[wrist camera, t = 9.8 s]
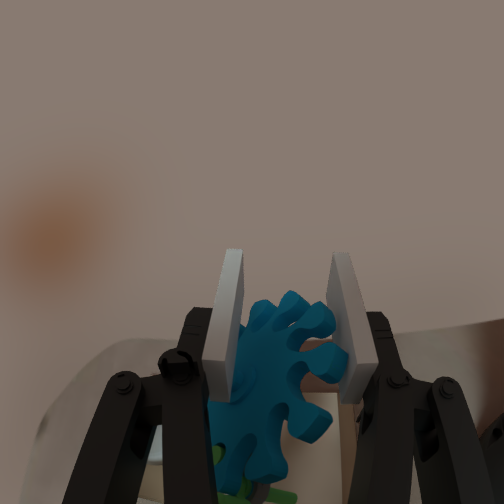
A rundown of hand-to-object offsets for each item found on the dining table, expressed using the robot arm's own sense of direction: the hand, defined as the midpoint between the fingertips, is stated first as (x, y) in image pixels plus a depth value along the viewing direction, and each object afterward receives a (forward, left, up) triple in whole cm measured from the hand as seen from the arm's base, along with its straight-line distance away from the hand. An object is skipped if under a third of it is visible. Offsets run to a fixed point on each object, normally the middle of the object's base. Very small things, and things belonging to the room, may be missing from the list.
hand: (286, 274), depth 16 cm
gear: (+1, +5, -7) cm, 9 cm away
